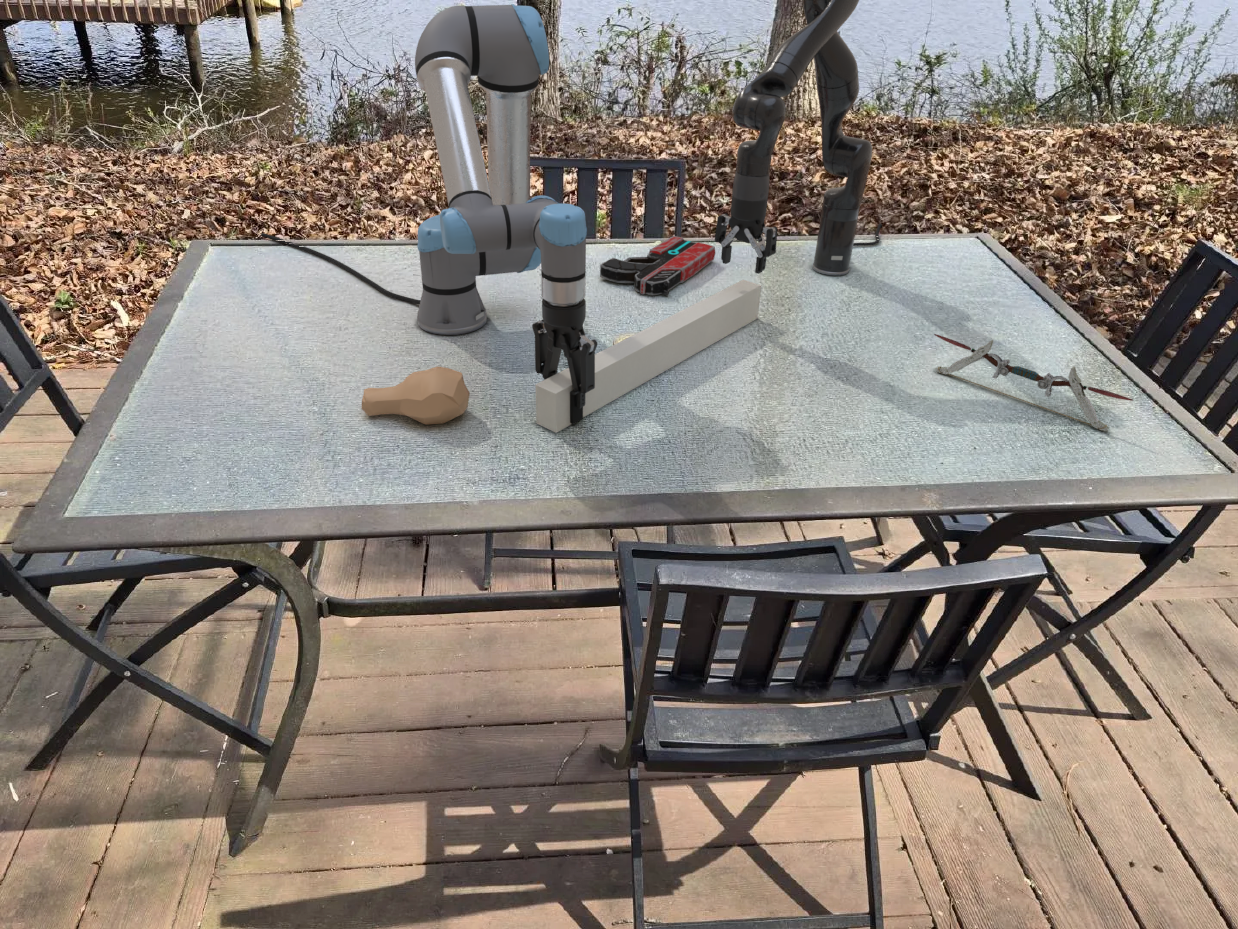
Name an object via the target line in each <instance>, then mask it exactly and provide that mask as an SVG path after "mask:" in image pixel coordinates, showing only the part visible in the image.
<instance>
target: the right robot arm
mask: <svg viewBox="0 0 1238 929" xmlns="http://www.w3.org/2000/svg"><path fill="white" fill-rule="evenodd" d="M801 2H802V7H803V13H804V17H805V21H806V26H804V27H803V28H800V29H799V30H798V31H796V32H795V33H794V34H792V35H791V36H790V37H788V38H787V39H786V40H785V41H784V42H782V44H780V46H779V47H778V48H777V49H776V51H775V52H774V54H773V56H772V57H771V58H770V60H769V62H768V63H767V65H766V67H765V69H764V70H763V71H762V72H761V73H759V74H758V75H757V76H756V77H755V78H753V79H752V80H751V82H749V83H748V84H747V85H746V86H745V87H744V88H742V90H741V91H740V92H739V94H738V95H737V97H736V98H735V100H734V103H733V106H732V112H731V114H732V119H733V121H734V123H735V124H736V125H737V126H738V127H740V128H743V129H748V130H753V131H758V132H759V135H758V137H757V139H755V140H751V139H750V140H744V141H742V142H741V143H740V144H739V145H738V148H737V154H736V165H735V174H734V178H733V183H732V193H731V205H730V215H731V216H729V214H728V213H723V214H721V215H719V216H717V219H716V226H715V233H714V242H715V243H719V244H720V246H721V253H720V254H721V256H720V257H721V258H720V259H721V261H722V264H724V265H727V264H729V263H731V260H732V250H733V246H732V245H731V244H733V242H735V240H736V241H739V242H744V243H745V244H750V246H751V248H752V249H753V250H754V251H755V253H756V255H757V256H756V260H755V269H754V273H755V274H758V275H759V274H761V273H763V272H764V271H765V270H766V266H767V265H766V264H767V258H769V257H771V256H773V255H775V254H776V253H777V252H776V251H777V243H778V227H777V226H772V227H771V226H770V227H769V226H766V224H765V220H766V217H767V209H768V201H769V192H770V173H771V165H772V156H773V152H774V149H775V147H776V143H777V140H778V138H779V135H780V133H781V130H782V128H783V125H784V123H785V120H786V116H787V109H786V104H785V101H784V99H783V98H785V97H787V96H789V95H790V94H791V93H792V92H793V91H794V89H795V88H796V86H797V85H798V83H799V82H800V80H801V78H802V77H803V75H804V73H805V72H806V70H807V68H808V66H809V65H810V64H811V62H812V61H813V63H814V73H815V83H816V90H817V91H816V92H817V98H818V104H819V114H820V122H821V157H822V158H821V159H822V165H823V168H824V171H826V173H829V174H831V175H834V176H839V177H842V178H846V182H845V185H843V186H839V187H837V186H836V187H832V188H829V189H827V190H825V192H824V195H823V199H822V207H821V213H820V219H819V225H818V226H819V227H818V233H817V238H816V243H815V244H816V246H815V252H814V256H813V257H814V259H813V263H812V269H813V271H815V272H817V273H818V274H822V275H825V276H832V277H833V276H837V277H838V276H844V275H846V274H848V273H849V272H850V266H851V260H852V255H853V250H854V247H868V246H875V245H877V244H878V243H879V242H880V236H879V234H880V230H881V229H882V228H883V224H882V223H881V222H880V223H879V224H878V225H877V228H876V231H875V235H874V236H875V239H876V240H875V241H870V242H855V238H856V232H857V228H858V221H859V216H860V210H861V204H862V200H863V197H864V194H865V191H866V190H865V189H866V186H867V181H868V177H869V172H870V169H871V164H872V159H873V157H872V156H873V145H872V143H871V141H870V140H867V139H863V138H858V137H854V136H853V137H852V136H848V135H845V133H844V132H843V122H844V119H845V117H846V116H847V115H848V113H849V111H850V110H851V108H852V107H853V105H854V104H855V103H856V100H857V99H858V96H859V92H860V79H859V78H860V77H859V67H858V62H857V59H856V58H855V55H854V54H853V52H852V50H851V48H849V46H848V45H847V43H846V41H845V40H844V39H843V38H842V37H841V35H840V34H839V32H838V30H840V28H841V27H842V26H843V25H844V24H845V23H846V22H847V20H848V19H849V18H850V17H851V15H852V14H853V13H854V12H855V10H856V8H857V7H858V4H859V2H860V0H802V1H801ZM728 226H729V228H730V229H731V230H730V231H729V233H727V228H728ZM726 234H727V235H726ZM763 234H764V236H763ZM876 236H879V237H876ZM877 239H879V240H877Z"/></svg>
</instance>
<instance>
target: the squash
mask: <svg viewBox="0 0 1238 929" xmlns="http://www.w3.org/2000/svg"><path fill="white" fill-rule="evenodd" d="M470 395H471V393H470V391H469V389H468V387H467V385H466V383H465V379H464V375H463V372H460V371H458V370H454V369H452V368H448V367H444V366H439V365H437V366H435V367H432V368H431V367H430V368H428V369H424V370H419V371H413V372H411V373H410V374H409V375H408V376H406V377H405V378H404V379H403V381H401V382H399V383H398V384H396V385H394V386H388V387H367V388H365V389H363V395H362V398H361V410H362V411H363V412H364V413H365V414H366V415H367V416H368V417H372V416H379V415H380V416H381V415H400V416H405V417H408V418H411V419H412V420H414V421H416V422H419V423H421V424H423V425H425V426H427V425H442V424H446V423H447V422H450V421H452V420H453V419H455V418H457V417H460V416H462V415H463V414H464V413H465V412H466V410H467V409H468V408H469V400H470Z"/></svg>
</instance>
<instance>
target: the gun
mask: <svg viewBox="0 0 1238 929" xmlns="http://www.w3.org/2000/svg"><path fill="white" fill-rule="evenodd" d="M715 256H716V247H715V246H714V245H711V244H708V243H703V242H700V241H699V242H695V241H690V240H687V239H684V237H681V236H677V235H675V236H672V235H671V237H668V238H666V239H665V240H663V241H662V242H660V243H659V244H657V245H655V246H654V247H651V248H650V249H649V252H648V253H647V255H646V256H630V257H627V258H625V259H624V260H622V259H618V258H615V257H611V258H610V259H608V260H606V261H604V262H602V263H600V264H599V265H600V266H599V267H600V268H599V277H600V278H602V279H604V280H607V281H610V282H613V283H618V284H633V288H634V289H635V291H636V292H639V294H640V295H648V296H657V295H663V296H666V297H668V296H669V294H670V290H672V289H673V288H674V287H676V286H678V285H679V284H682V283H684V282H687V280H689V279H690V278H692V277H694V276H695V275H696V274H697V273H699V271H701V270H703V269H704V268H705V267H707V266H708V265H709V264H710V263H712V262H713V261H714V259H715Z"/></svg>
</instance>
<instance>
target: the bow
mask: <svg viewBox="0 0 1238 929" xmlns="http://www.w3.org/2000/svg"><path fill="white" fill-rule="evenodd" d="M934 336H935V337H937V338H939V339H941V340H943V341H944V342H946V343H948V344H951V345H953V346H956V347H959V348H961V349H963V350H964V349H965V350H968V351H970V352H971V353H972V354H970V355H968V356H965V357H963V358H960V359H958V360H956V361H954V362H953V363H952V364H951V365H949V366H937V367H935V371H936V372H938V373H939V374H942V375H949V376H951V377H954V378H957V379H959V380H962V381H965V382H968V383H970V384H971V383H972V384H973V385H975V386H979V387H983V388H985V389H988V390H991V391H994V392H996V393H999V394H1002V395H1005V396H1007V397H1011V398H1013V399H1016V400H1019V401H1022V402H1024V403H1027V404H1030V405H1033V406H1036V407H1039V408H1041V409H1044V410H1047V411H1050V412H1053V413H1054V414H1059V415H1061V416H1064V417H1067V418H1069V419H1072V420H1075V421H1078V422H1081V423H1084V424H1087V425H1089V426H1092V427H1093V428H1095V429H1097V430H1099V431H1103V432H1107V431H1108V430H1109V429H1110V426H1108V425H1107V424H1105V423H1103V421H1101V420H1100V419H1098V415H1097V412H1096V409H1095V408H1094V405H1093V404H1092V402H1091V400H1090V399H1089V398H1088V396H1086V394H1085V390H1088V391H1090V392H1092V393H1096V394H1099V395H1102V396H1105V397H1110V398H1114V399H1118V400H1125V401H1130V402H1131V401H1132V402H1133V401H1134V399H1132V398H1131V397H1127V396H1124V395H1121V394H1118V393H1116V392H1112V391H1109V390H1105V389H1101V388H1098V387H1093V386H1087V385H1083V384H1082V380H1081V378H1080V376H1079V375H1078V373H1077V368H1076V366H1074V365H1073V366H1072V367H1071V368H1070V371H1069V374H1068V378H1067V377H1065V376H1062V375H1055V376H1054V375H1053V374H1051V373H1050V372H1047V374H1045V375H1044V376H1041V375H1040V374H1039V373H1038V372H1036V371H1035V370H1031V369H1029V368H1026V367H1022V366H1019V365H1013V366H1012V365H1010V363H1011V360H1010V359H1009V358H1008V359H1002V357H1000V355H998V354H996V353H992V352H991V353H989V352H990V351H991V350H992V347H993V344H994V339H991V340H990V341H989V342H987V343H986V344H984V345H983V346H980V347H979V348H977V349H975V348H971V347H970V346H969V345H967V344H964V343H963V342H962V343H961V342H959V341H957V340H954V339H951V338H949V337H946V336H943V335H939V334H936V333H934ZM983 359H985V360H987V361H988V363H990V364H991V365H992V366H993V367H995V368H996V369H995V371H994V372H993V375H992V377H991V378H992V379H995V380H997V379H998V378H999V376H1000V375H1001V376H1003V377H1007V375H1009V373H1010V374H1013V375H1015V376H1019V377H1021V378H1025V379H1027V380H1030V381H1034V382H1037V384H1036V385H1037V387H1038V388H1039V389H1041V390H1045V391H1044V397H1047V398H1050V397H1051V396H1052V391H1053V390H1052V387H1068V388H1069V389H1070V390H1071V392H1072V394H1073V396H1075V398H1076V400H1077V402H1078V404H1079V406H1080V408H1081V410H1082V412H1083V415H1084V416H1085V418H1086V419H1087V422H1086V421H1083V420H1081V419H1078V418H1075V417H1072V416H1071V415H1070V416H1069V415H1067V414H1064V413H1061V412H1057V411H1056V410H1052V409H1050V408H1047V407H1045V406H1042V405H1038V404H1035V403H1033V402H1030V401H1027V400H1025V399H1021V398H1019V397H1016V396H1014V395H1010V394H1007V393H1004V392H1002V391H999V390H996V389H993V388H991V387H987V386H985V385H983V384H979V383H976V382H974V381H971V380H968V379H965V378H963V377H960V376H957V375H954V374H953V373H955V372H959V371H961V370H962V369H964V368H965V367H968V366H970V365H971V364H973V363H976V362H978V361H980V360H983Z"/></svg>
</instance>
